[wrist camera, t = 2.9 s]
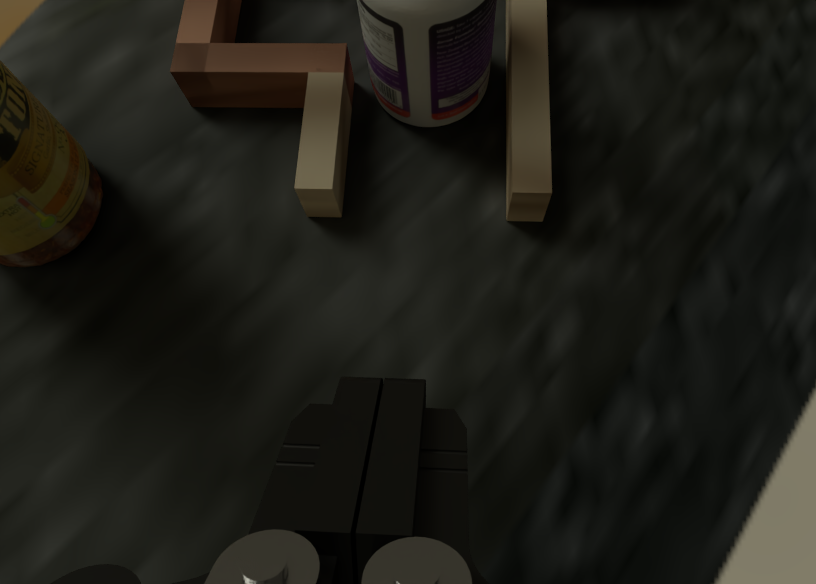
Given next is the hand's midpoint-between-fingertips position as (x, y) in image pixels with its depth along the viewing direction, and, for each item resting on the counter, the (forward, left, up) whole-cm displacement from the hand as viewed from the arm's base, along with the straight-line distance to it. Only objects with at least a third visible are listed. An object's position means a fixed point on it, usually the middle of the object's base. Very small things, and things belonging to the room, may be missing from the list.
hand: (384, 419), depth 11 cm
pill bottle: (-12, -12, -13) cm, 22 cm away
